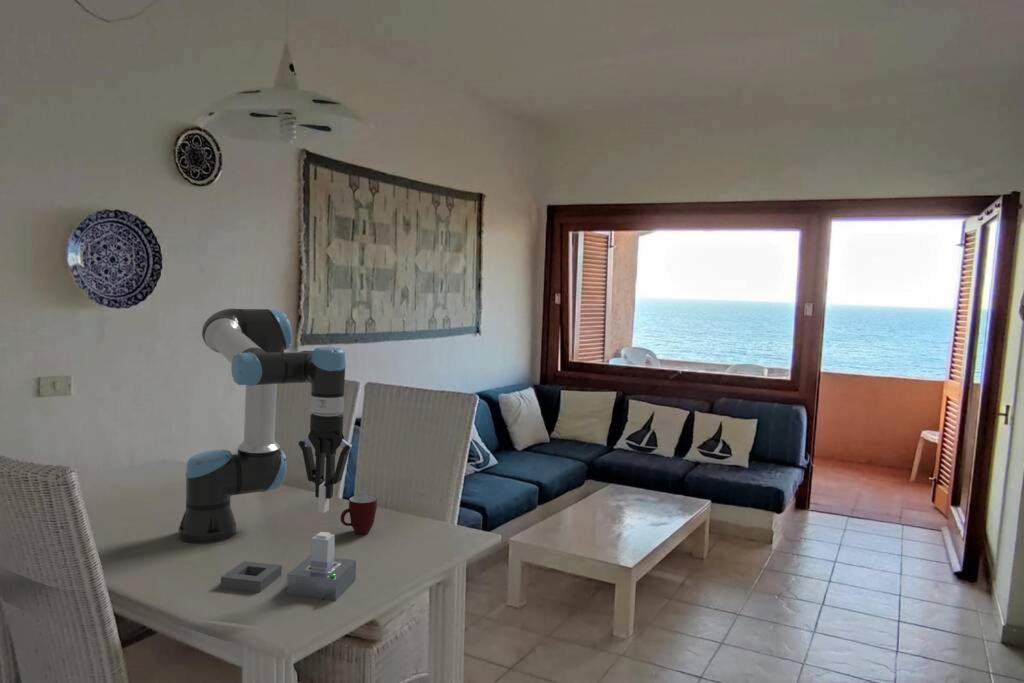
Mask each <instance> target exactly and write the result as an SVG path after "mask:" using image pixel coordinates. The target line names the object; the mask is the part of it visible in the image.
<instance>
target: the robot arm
mask: <svg viewBox="0 0 1024 683" xmlns="http://www.w3.org/2000/svg"><path fill="white" fill-rule="evenodd" d="M201 336H202V340H203V342H204V344H205V345H206V346H207V347H208V348H209V350H211V351H213V352H214V353H219V354H221V355H222V356H223V357H224V358H225V359H226V360H227V361H228V362H229V363H230V364H231V368H230V369H231V376H232V379H233V382H234V383H235V384H237V385H239V386H245V399H244V400H245V403H244V407H245V408H244V424H243V425H244V428H243V442H241V443H240V444H239V445H238V447H237V453H236V454H232V451H230V450H229V449H213V450H207V451H203V452H199V453H197V454H194V455H193V456H191V457H190V458H189V459H188V461H187V463H186V470H185V481H186V482H185V511H184V513H183V516H182V518H181V521H180V524H179V526H178V533H177V535H178V539H179V540H181V541H183V542H186V543H191V544H207V543H215V542H219V541H223V540H227V539H229V538H231V537H234V535H236V533H237V522H236V519H235V516H234V513H233V510H232V507H231V497H232V496H236V495H237V496H239V495H246V494H253V493H259V492H262V493H265V492H268V491H273V490H276V489H278V488H279V487H280V486H281V485H282V484H283V482H284V480H285V477H286V473H287V461H286V460H287V456H286V454H285V452H284V451H283V450H282V449H281V446H280V444H278V443H277V442H276V415H277V397H278V396H277V392H278V391H277V390H278V385H281V384H282V385H283V384H308V383H309V384H311V385H310V386H311V390H310V391H311V392H310V412H311V414H310V416H309V417H310V418H309V419H310V421H309V422H310V423H309V429H310V430H309V433H308V436H307V438H304V439H302V440H299V441H298V446H299V447H300V450H301V451H302V456H303V462H304V467H305V472H306V478H307V480H308V482H312V483H313V484H314V485H315V493H314V496H315V498H318V507H317V508H318V511H317V513H319V514H325V513H326V512H328V511H329V510H330V499H331V498H333V497H334V485H336V484H338V483H340V482H341V481H342V480H343V477H344V476H343V475H344V472H345V469H346V464H347V460H348V458H349V454H350V452H351V451H352V449H353V448H354V444H353V443H352V442H350V443H349V442H347V440H345V436H344V434H343V432H344V431H343V430H344V414H343V412H344V408H345V407H344V406H345V405H344V404H345V378H346V368H347V363H346V362H347V361H346V352H345V350H344V349H343V348H341V347H331V346H329V347H328V346H327V347H326V346H323V347H321V346H319V347H315V348H314V349H313V350H301V351H294V352H290V351H289V352H288V351H287V350H289V349H290V348H291V346H292V342H293V332H292V327H291V322H290V320H289V318H288V316H287V314H286V313H285V312H284V311H282V310H278V309H270V308H227V309H226V308H225V309H221V310H220V311H216V312H215V313H213V314H212V315H211V316H209V317H208V318H207V319H206V321H205V322H204V324H203V326H202V330H201ZM284 351H287V352H284ZM312 446H313V448H314V454H313V449H312ZM339 447H340V450H341V452H340V453H339V456H338V459H337V463H336V456H337V455H336V454H337V450H338V448H339ZM314 456H315V459H314Z"/></svg>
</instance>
